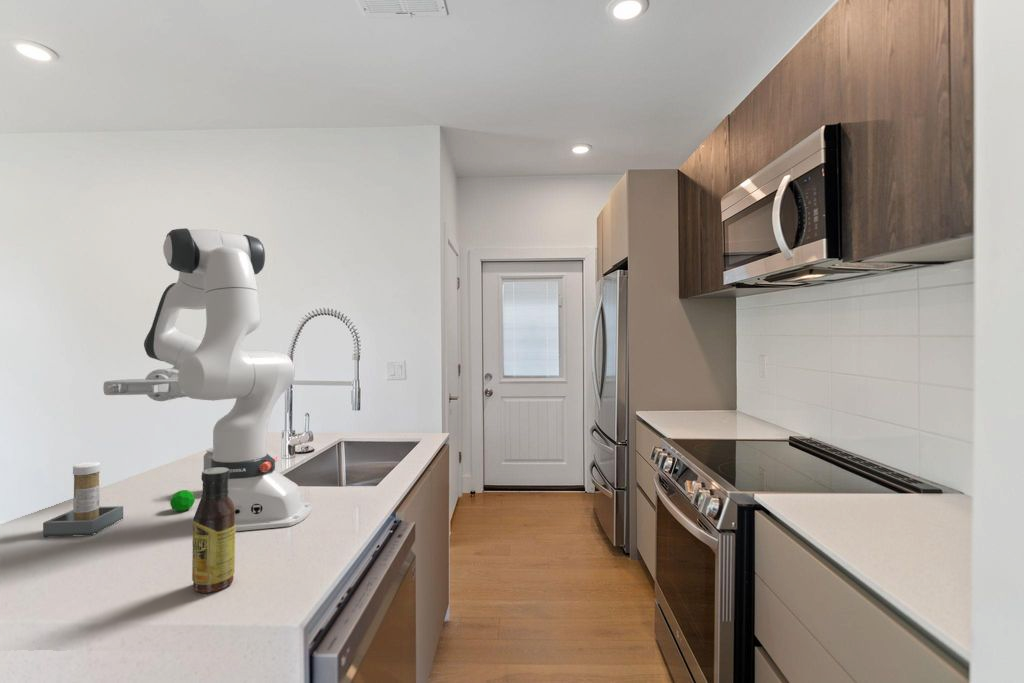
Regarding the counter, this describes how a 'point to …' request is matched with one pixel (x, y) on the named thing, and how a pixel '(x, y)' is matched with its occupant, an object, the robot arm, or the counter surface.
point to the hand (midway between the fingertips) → (130, 389)
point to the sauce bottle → (214, 534)
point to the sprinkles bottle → (86, 491)
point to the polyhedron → (182, 500)
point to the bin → (82, 523)
